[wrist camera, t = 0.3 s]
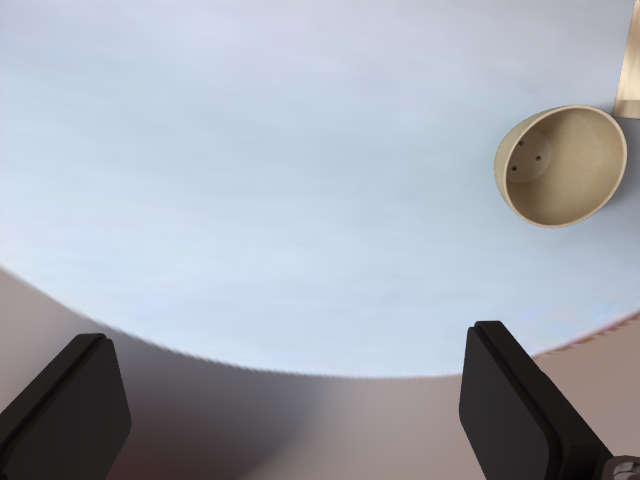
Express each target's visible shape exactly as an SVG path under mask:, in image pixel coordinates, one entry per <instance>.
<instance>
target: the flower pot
mask: <svg viewBox="0 0 640 480" xmlns="http://www.w3.org/2000/svg"><path fill="white" fill-rule="evenodd" d="M519 142H520V145H519ZM537 156H539V158H537ZM626 163H627V144H626V140H625V136H624V134H623V131H622V129H621V127H620V126H619V125H618V123H617V122H616V121H615V120H614V119H613V118H612V117H611V116H610V115H609V114H607V113H606V112H604V111H602V110H600V109H598V108H595V107H592V106H587V105H569V106H562V107H557V108H553V109H549V110H546V111H543V112H540V113H538V114H536V115H533V116H531V117H529V118H527V119H526V120H524V121H522V122H521V123H519V124H518V125H517V126H515V127H514V128H513V129H512V130H511V131H510V132H509V133H508V134H507V135H506V136H505V137H504V139H503V140H502V141H501V143H500V145H499V147H498V149H497V151H496V155H495V160H494V175H495V180H496V184H497V186H498V189H499V191H500V193H501V195H502V197H503V199H504V200H505V201H506V203H507V204H508V206H509V207H510V208H511V209H512V210H513V211H514V212H515V213H516V214H517V215H518V216H519V217H520V218H522V219H523V220H525V221H526V222H528V223H530V224H533V225H536V226H539V227H545V228H559V227H565V226H569V225H572V224H575V223H578V222H580V221H582V220H584V219H586V218H588V217H590V216H591V215H593V214H594V213H595V212H597V211H598V210H599V209H600V208H602V207H603V206H604V205H605V204H606V203H607V202H608V200H609V199H610V198H611V197H612V195H613V194H614V193H615V191H616V189H617V188H618V186H619V184H620V182H621V180H622V177H623V175H624V171H625V168H626ZM515 167H516V169H515V170H514V168H515Z"/></svg>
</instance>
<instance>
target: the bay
mask: <svg viewBox="0 0 640 480" xmlns="http://www.w3.org/2000/svg"><path fill="white" fill-rule="evenodd" d="M612 116H613V117H626V118H638V119H640V0H636V1H635V6H634V11H633V16H632V21H631V26H630V31H629V36H628V41H627V46H626V51H625V55H624V60H623V65H622V70H621V75H620V80H619V85H618V90H617V95H616V100H615V105H614V110H613V115H612Z"/></svg>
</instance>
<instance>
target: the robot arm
mask: <svg viewBox="0 0 640 480" xmlns="http://www.w3.org/2000/svg"><path fill="white" fill-rule="evenodd" d="M459 416H460V421H461V424H462V426H463V428H464V430H465V432H466V435H467V437H468V439H469V441H470V444H471V446H472V448H473V450H474V453H475V455H476V457H477V459H478V462H479V464H480V466H481V468H482V471H483V473H484V475H485V477H486V479H487V480H640V457H634V456H627V455H624V456H615V457H614V456H613V455H612V453H611V452H610V451H609V450H608V449H607V447H606V446H605V445H604V444H603V443H602V441H601V440H600V439H599V438H598V437H597V435H596V434H595V433H594V432H593V430H592V429H591V428H590V427H589V426H588V424H587V423H586V422H585V421H584V420H583V418H582V417H581V416H580V415H579V414H578V412H577V411H576V410H575V409H574V408H573V406H572V405H571V404H570V403H569V401H568V400H567V399H566V398H565V397H564V395H563V394H562V393H561V392H560V391H559V389H558V388H557V387H556V386H555V384H554V383H553V382H552V381H551V380H550V378H549V377H548V376H547V375H546V374H545V373H543V372H542V371H541V370H540V369H539V367H538V366H537V365H536V364H535V363H534V361H533V360H532V359H531V358H530V356H529V355H528V354H527V353H526V352H525V350H524V349H523V348H522V347H521V345H520V344H519V343H518V342H517V341H516V339H515V338H514V337H513V336H512V334H511V333H510V332H509V331H508V330H507V328H506V327H505V326H504V325H503V323H502V322H500V321H477V322H476V323H475V325H474V327H469V329H468V332H467V341H466V350H465V358H464V367H463V376H462V385H461V394H460V402H459ZM130 429H131V416H130V412H129V408H128V404H127V400H126V395H125V391H124V387H123V382H122V378H121V374H120V370H119V365H118V361H117V357H116V353H115V348H114V344H113V342H112V340H111V339H107V338H106V336H105V335H104V334H102V333H94V334H93V333H92V334H79V335H77V336H76V337H75V338H74V339H73V340H72V341H71V342H70V343H69V344H68V345H67V346H66V347H65V348H64V349H63V350H62V351H61V352H60V353H59V354H58V355H57V356H56V357H55V358H54V359H53V360H52V361H51V362H50V363H49V364H48V365H47V366H46V367H45V369H43V371H42V372H41V373H40V374H39V375H38V376H37V377H36V378H35V379H34V380H33V381H32V382H31V383H30V384H29V385H28V386H27V387H26V388H25V389H24V390H23V391H22V392H21V393H20V394H19V395H18V396H17V397H16V398H15V399H14V400H13V401H12V402H11V403H10V405H9V406H8V407H7V408H6V409H5V410H4V411H3V412H2V413H1V414H0V480H105V478H106V476H107V474H108V472H109V470H110V468H111V467H112V465H113V463H114V461H115V459H116V457H117V455H118V454H119V452H120V450H121V448H122V446H123V444H124V442H125V440H126V439H127V437H128V435H129V433H130Z"/></svg>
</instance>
